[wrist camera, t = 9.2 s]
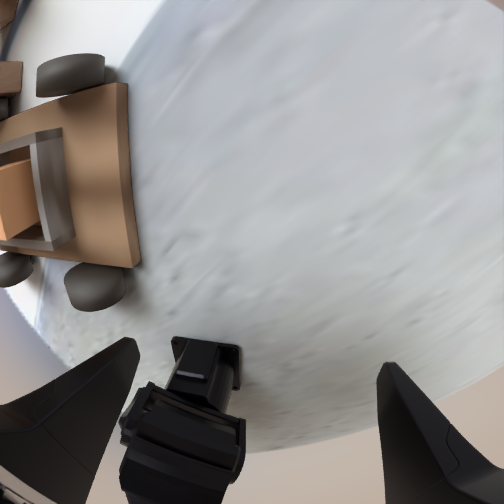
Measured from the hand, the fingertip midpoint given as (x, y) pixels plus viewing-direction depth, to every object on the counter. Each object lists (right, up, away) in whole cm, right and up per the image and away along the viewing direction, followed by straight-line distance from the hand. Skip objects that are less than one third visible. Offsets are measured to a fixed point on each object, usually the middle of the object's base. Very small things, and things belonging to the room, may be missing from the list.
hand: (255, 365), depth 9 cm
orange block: (-19, +10, +10) cm, 24 cm away
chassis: (-19, +10, +11) cm, 24 cm away
